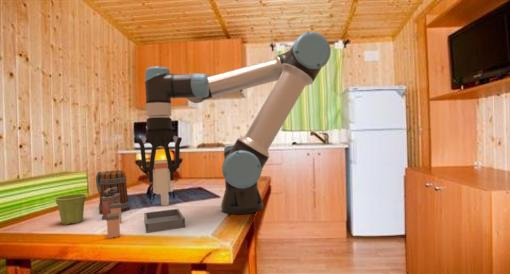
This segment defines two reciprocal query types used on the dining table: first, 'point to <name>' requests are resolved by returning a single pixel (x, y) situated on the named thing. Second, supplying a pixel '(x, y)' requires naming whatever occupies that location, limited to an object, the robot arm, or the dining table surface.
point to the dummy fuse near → (113, 225)
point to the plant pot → (71, 207)
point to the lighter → (109, 201)
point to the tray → (163, 220)
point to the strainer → (166, 196)
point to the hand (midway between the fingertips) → (161, 191)
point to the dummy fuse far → (116, 209)
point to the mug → (111, 181)
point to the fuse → (161, 176)
